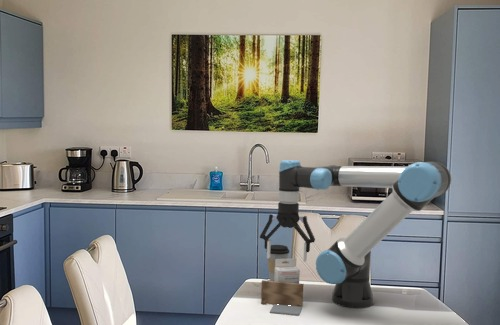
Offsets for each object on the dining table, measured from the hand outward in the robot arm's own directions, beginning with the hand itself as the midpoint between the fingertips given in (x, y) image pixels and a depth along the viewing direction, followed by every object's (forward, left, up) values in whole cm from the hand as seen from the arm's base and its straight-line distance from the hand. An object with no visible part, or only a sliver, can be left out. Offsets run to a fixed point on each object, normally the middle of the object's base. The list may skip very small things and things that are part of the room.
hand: (286, 259), depth 200 cm
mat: (-2, +13, -15) cm, 20 cm away
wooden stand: (0, +7, -15) cm, 16 cm away
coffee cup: (+7, -19, -15) cm, 25 cm away
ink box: (0, 0, -15) cm, 15 cm away
